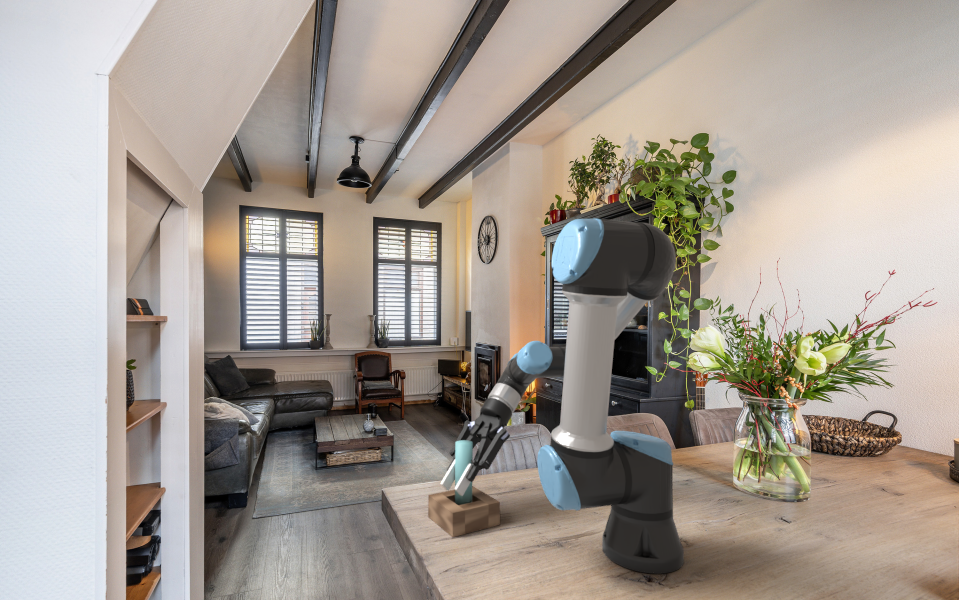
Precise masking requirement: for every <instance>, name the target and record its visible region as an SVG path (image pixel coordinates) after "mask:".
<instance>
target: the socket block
mask: <svg viewBox="0 0 959 600" xmlns="http://www.w3.org/2000/svg"><path fill="white" fill-rule="evenodd" d="M427 498H428V502H427V504H428V507H427V508H428V509H427V514H428V515H427V517H428V519H430V520H431V521H432V522H434V523H435V524H436V526H438V527H439V528H441V529H442V530H443V531H444V532H446V533H447V534H448V535H449V536H450V537H451V538H455V537H459V536H463V535H466V534H470V533H474V532H477V531H482V530H484V529H490V528H493V527H496V526H500V525H501V518H500V517H501V513H500V512H501V507H500V506H501V504H500V501H499V500H497V499H496V498H493V497H492V496H490V495H488V494H487V493H485V492H484V491H483V490H480V489H478V488H477V487H475V486H474V485H472V502H471V503H467V504H463V505H457V504H456V503H455V489H450V490H449V491H448V490H445V491H441V492H437V493H432V494H428V497H427Z"/></svg>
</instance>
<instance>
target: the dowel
mask: <svg viewBox="0 0 959 600" xmlns="http://www.w3.org/2000/svg"><path fill="white" fill-rule="evenodd" d="M454 443H455V480H454V488H455V487H456V485H457V483H458V481H459V480H460V478H461V476H462V474H463V473H464V471H465V469H466V467H467V466H468V464H469V463H471V464H472V465H473V463H472V462H471V460H474V457H473V456H474V455H473V454H474V453H473V452H474V451H473V449H474V448H473V442H472V441H469V440H460V441H456V440H455V441H454ZM472 486H473V482H470V484H469V486H468V488H467V489H466V491H465V493H464V495H463V496H461V495H460V494H459V493H458V492H457V491H456V490H455V489H454V490H455V503H456V504H457V505H463V504H467V503H471V502H472Z"/></svg>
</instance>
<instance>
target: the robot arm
mask: <svg viewBox="0 0 959 600" xmlns="http://www.w3.org/2000/svg"><path fill="white" fill-rule="evenodd" d="M676 259H677V256H676V250H675V247H674V244H673V241H672V240H671V239H670V237H669V236H668V235H667V234H666V233H665V232H664V231H663V230H662V229H661V228H660V227H658V226H655V224H654V225H653V224H650V223H648V222H634V221H633V222H632V221H623V220H613V219H606V218H604V219H603V218H595V217H593V218H576V219H573V220H571V221H570V222H568V223H566V225H565V226H564V227H562V229H561V231H560V232H559V233H558V236H557V238H556V240H555V243H554V246H553V251H552V255H551V269H552V275H553V277H554V279H555V280H556V281H557V282H558V283H560V284H562V287H561V292H562V294H563V295H564V296H565V298H567V299H568V303H569V305H568V316H567V317H568V319H567V331H566V332H567V333H566V341H565V342H566V343H565V346H548V344H546V343H544V342H542V341H540V340H533V341H532V340H531V341H529V342H527V343H526V344H525V345H524V346H522V348H520V350H519V351H518V352H516V353H514V354H513V356H512V357H511V358H510V360H509V361H508V362H507V364H506V367H504V370H503V371H502V373H501V375H500V377H499V378H498V380H497V382H496V383H495V385H494V386H493V388H492V390H491V391H490V392H489V394H488V396H487V398H486V400H485V401H484V403H483V405H482V406H481V408H480V410H479V411H480V412H479V416H477V418H476V419H475V420H474V421H469V419H467V420H466V421H464V423H463V424H464V425H463V428H462V430H461V431H460V433H459V435H458V437H457V438H456V440H455V442H456V441H460V440H469V441H472V442H473V449H474V448H475V447H476V445H477V444H478V443H479V445H478V448H477V451H476V453H475V456H474V457H473V460H471V462H472V463H473V465H472V464H471V463H469V464H468V466H467V467H466V469H465V471H464V473H463V474H462V476H461V478H460V480H459V481H458V483H457V485H456V487H455V486H454V489H453V490H456V491H457V492H458V493H459V494H460V495H461V496H463V495H464V493H465V491H466V489H467V488H468V486H469V484H470V482H472V483H473V482H474V481H475V479H476V477H477V475H478V474H479V472H480V471H481V470H489V469H490V467H491V466H492V464H493V463H494V461H495V460H496V459H495V458H496V457H497V455H498V454H499V452H500V450H501V448H502V447H503V446H504V444H505V442H506V441H507V440H508V439H509V438H510V437H511V434H510V433H509V432H508V430H507V429H506V427H507V426H508V423H509V422H510V420H511V418H512V416H513V413H514V412H515V411H516V409H517V407H518V406H519V404H520V401H521V400H522V398H523V396H524V395H525V393H526V391H527V389H528V387H529V386H530V385H531V384H532V383H533V382H535V381H536V379H539V378H563V380H562V381H563V382H562V394H561V395H562V396H561V408H560V409H561V410H560V421H559V422H560V423H559V425H557V426H556V427H555V428H553V429H552V431H551V433H550V444H544V445H543V446H541V447H540V448H539V450H538V452H537V462H536V463H537V472H538V477H539V481H540V484H541V487H542V489H543V493H544V494H545V497H546V498H547V500H548V501H549V503H550V504H551V505H552V506H553V507H554V508H555V509H557V510H559V511H571V510H572V511H573V510H574V511H580V510H585V509H592V508H600V507H608V506H610V513H609V515H608V518H607V521H606V524H605V527H604V531H603V534H602V539H601V542H602V547H601V548H602V552H603V554H604V556H606V558H608V559H609V560H610V561H612V562H613V563H615V564H616V565H618V566H620V567H623V568H626V569H628V570H631V571H635V572H638V573H639V572H640V573H647V574H668V573H672V572H675V571H677V570H679V569H680V568H681V567H682V566H683V565H684V563H685V560H684V557H685V555H684V547H683V544H682V541H681V540H680V536H679V533H678V529H677V526H676V523H675V519H674V511H673V510H674V501H673V497H674V496H673V495H674V494H673V493H674V492H673V490H674V489H673V485H674V483H673V482H674V481H673V474H674V473H673V472H674V471H673V468H674V467H673V466H674V462H673V455H672V446H671V445H670V443H669V442H667V441H666V440H664V439H663V438H659V437H658V436H653V435H649V434H646V433H645V434H644V433H641V432H635V431H627V430H614V431H611V432H610V433H608V431H607V427H608V417H609V406H610V405H609V403H610V395H611V383H612V369H613V362H614V361H613V360H614V359H613V358H614V349H615V340H616V339H617V338H618V337H619V336H620V334H621V333H622V332H623V331H624V330H625V329H626V327H627V326H628V325H629V324H630V322H632V320H633V319H634V318H636V316H637V314H638V313H639V312H640V311H641V310H642V308H644V306H645V305H646V303H648V302H652V301H655V300H656V299H658V298H659V297H660V295H661V294H662V293H663V292H664V291H665V290H666V288H667V287H668V285H669V284H670V282H671V280H672V278H673V275H674V273H675V268H676V261H677V260H676ZM455 442H454V443H453V446H452V447H451V448H450V451H449V453H448V454H449V455H450V456H451V457H452V460H451V462H450V463H449V465H448V467H447V468H446V473H445V475H444V476H443V478H442V480H441V482H440V483H439V484H440V485H441V486H442V488H444V489H445V491H450V490H451V487H452V486H453V484H454V483H455Z"/></svg>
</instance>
